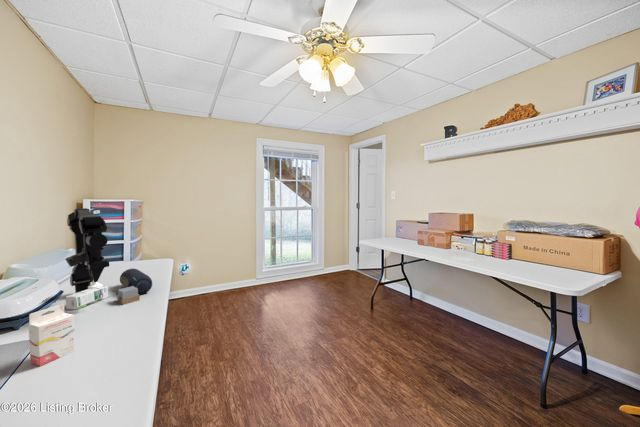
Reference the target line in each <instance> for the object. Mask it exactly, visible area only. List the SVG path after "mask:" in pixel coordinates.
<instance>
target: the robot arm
mask: <svg viewBox="0 0 640 427" xmlns="http://www.w3.org/2000/svg"><path fill="white" fill-rule="evenodd" d="M66 225H67V227H69V228H68V229H69V230H70V231H71V232H72V233H73V235H74V248H75V254H74V255H71V256H69V257H66V258H65V259H64V260H65V261H66V263H67V264H68V266H69V267H73V268H72V269H71V270H72V271H71V272H72V273H70V276H69V277H70V278H69V284H70V286H71V287H74V290H75V291H74V294H75V293H78V292H81V291H84V290H87V289H88V286H90V285H92V283H93V280H94V282H97V281H98V282H99V279H100V277H101V275H102V273H103V270H105V268H108V267H110V261H108V260H107V259H105V257H104V255H103V250H104V247H105V246H106V245H107V244H108V241H109V240H108V237H107V236H106V235H104V234H103V233H106V232H107V230H108V226H107V223H106V221H105V219H104V218H102V216H101V215H96V214H94V213H92V212H91V211H90V208H85V207H84V208H83V207H82V208H74V210H73V212H71V213H69V214H68V215H67V218H66Z"/></svg>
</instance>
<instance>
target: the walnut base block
mask: <svg viewBox="0 0 640 427" xmlns="http://www.w3.org/2000/svg"><path fill="white" fill-rule="evenodd" d="M140 300H141V298H140V294H138V295H135V296H131V297H128V298H124V299H122V298H121V297H119V296H118V295H117V302H118V303H119V304H121V305H122V306H124V305H128V304H132V303H134V302H135V303H136V302H138V301H140Z"/></svg>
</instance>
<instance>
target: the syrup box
mask: <svg viewBox="0 0 640 427" xmlns="http://www.w3.org/2000/svg"><path fill="white" fill-rule="evenodd" d="M108 287H109V286H107V285H103V286H102V287H100V288H95V289H87V290H84V291H81V292H78V293H75V292H74V293H73V294H69V295H67V296H65V308H66V310H80V309H83V308H84V307H88V306H89V305H92V304H95V303H97V302H98V303H99V302H100V301H103V300H105V299H108V298H109V291H108V290H109V288H108Z"/></svg>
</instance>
